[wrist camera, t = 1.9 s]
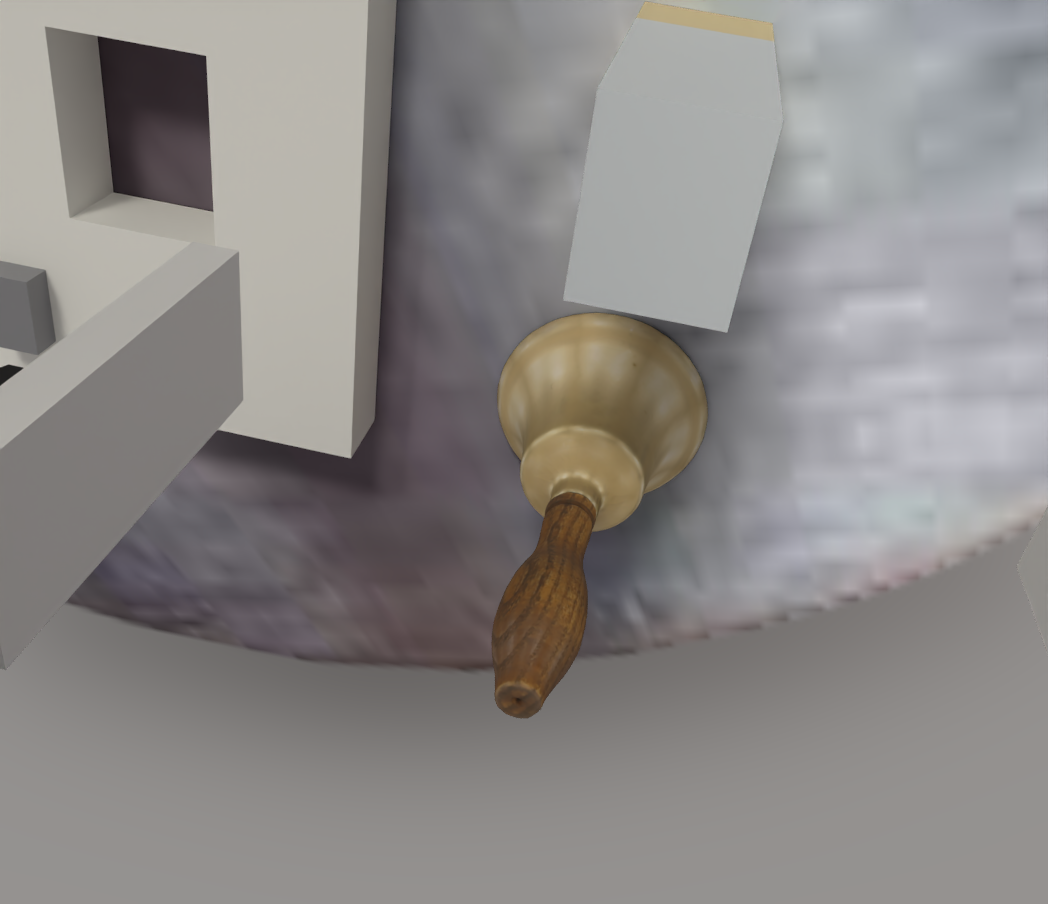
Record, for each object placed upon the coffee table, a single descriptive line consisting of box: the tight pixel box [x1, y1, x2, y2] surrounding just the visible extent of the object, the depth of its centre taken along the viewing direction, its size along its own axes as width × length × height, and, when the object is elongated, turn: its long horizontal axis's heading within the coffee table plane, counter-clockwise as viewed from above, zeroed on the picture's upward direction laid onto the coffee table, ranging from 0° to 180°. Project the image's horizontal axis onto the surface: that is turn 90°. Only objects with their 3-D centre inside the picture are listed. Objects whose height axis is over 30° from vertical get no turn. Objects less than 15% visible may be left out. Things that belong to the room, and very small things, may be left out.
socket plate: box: [0, 0, 397, 458], centre depth 35 cm, size 22×16×4 cm
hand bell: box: [492, 313, 708, 718], centre depth 33 cm, size 8×8×16 cm
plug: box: [563, 2, 784, 333], centre depth 28 cm, size 5×4×12 cm
